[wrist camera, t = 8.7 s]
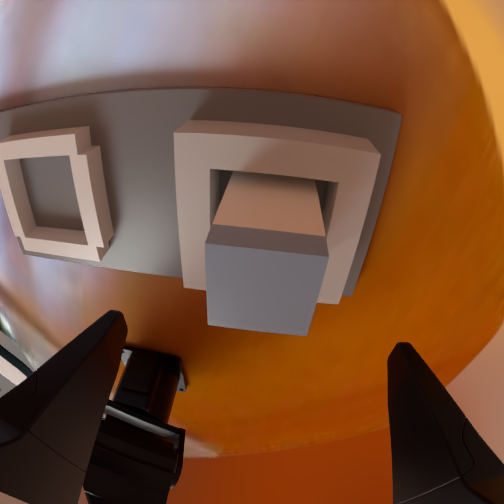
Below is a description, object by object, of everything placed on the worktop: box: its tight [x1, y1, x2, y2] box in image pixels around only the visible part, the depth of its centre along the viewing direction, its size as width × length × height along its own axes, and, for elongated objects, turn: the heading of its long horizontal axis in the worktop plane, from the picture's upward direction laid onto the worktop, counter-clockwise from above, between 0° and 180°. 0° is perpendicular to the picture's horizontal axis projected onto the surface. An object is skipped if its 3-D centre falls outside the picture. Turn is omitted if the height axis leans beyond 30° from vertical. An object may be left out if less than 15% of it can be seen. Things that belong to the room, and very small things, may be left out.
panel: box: [0, 87, 403, 304], centre depth 17 cm, size 12×26×4 cm, turn 87°
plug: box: [205, 171, 329, 336], centre depth 14 cm, size 4×4×7 cm
